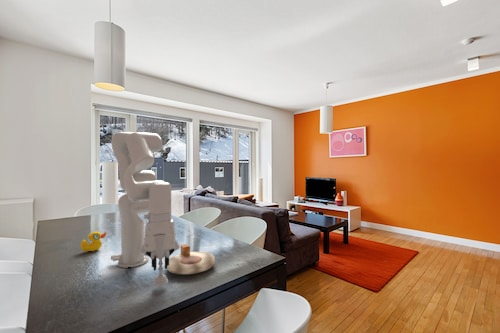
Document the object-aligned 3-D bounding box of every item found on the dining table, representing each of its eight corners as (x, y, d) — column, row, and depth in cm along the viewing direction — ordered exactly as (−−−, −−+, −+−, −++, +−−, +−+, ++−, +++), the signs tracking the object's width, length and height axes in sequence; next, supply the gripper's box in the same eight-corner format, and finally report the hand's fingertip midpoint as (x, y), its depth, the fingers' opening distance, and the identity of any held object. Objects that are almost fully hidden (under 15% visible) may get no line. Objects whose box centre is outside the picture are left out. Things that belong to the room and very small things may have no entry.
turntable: (174, 279, 89) (173, 264, 89) (161, 261, 106) (161, 248, 106) (222, 266, 100) (222, 252, 100) (204, 252, 116) (204, 240, 116)
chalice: (155, 277, 90) (155, 229, 89) (173, 277, 89) (173, 229, 89) (146, 287, 82) (146, 235, 82) (166, 287, 82) (165, 235, 82)
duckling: (106, 247, 132) (105, 229, 132) (107, 249, 127) (106, 231, 127) (80, 251, 125) (80, 232, 125) (80, 254, 121) (80, 235, 121)
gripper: (133, 221, 79) (133, 276, 80) (184, 217, 84) (184, 269, 84) (136, 216, 86) (137, 266, 87) (183, 213, 91) (184, 261, 92)
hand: (160, 267), depth 86 cm, fingers closed on chalice, 3 cm apart
